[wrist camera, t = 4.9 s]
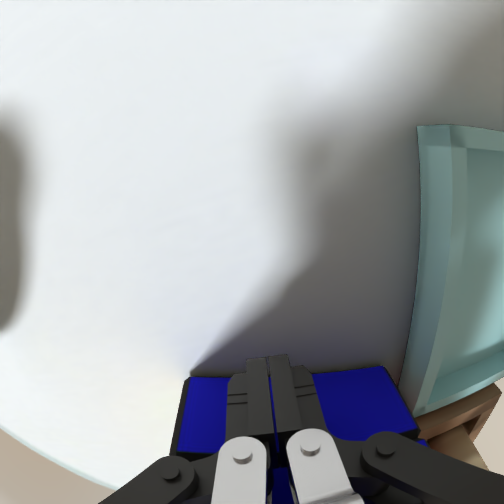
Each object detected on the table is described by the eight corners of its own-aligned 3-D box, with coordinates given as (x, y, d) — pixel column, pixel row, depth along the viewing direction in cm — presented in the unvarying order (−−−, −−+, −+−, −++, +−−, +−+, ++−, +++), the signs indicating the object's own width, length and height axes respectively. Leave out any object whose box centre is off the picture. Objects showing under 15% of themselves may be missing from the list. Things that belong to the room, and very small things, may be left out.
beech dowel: (414, 408, 15) (479, 539, 5) (452, 394, 15) (522, 508, 5) (404, 435, 16) (454, 553, 6) (440, 421, 16) (496, 527, 6)
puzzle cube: (386, 360, 13) (473, 523, 4) (347, 460, 17) (378, 573, 7) (183, 371, 13) (145, 576, 4) (206, 470, 16) (198, 592, 7)
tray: (416, 126, 10) (448, 124, 8) (539, 142, 10) (565, 146, 8) (396, 393, 14) (410, 419, 12) (507, 348, 14) (524, 364, 12)
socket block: (394, 398, 14) (413, 434, 12) (479, 366, 14) (502, 392, 11) (376, 455, 17) (387, 485, 14) (451, 427, 17) (466, 452, 14)
